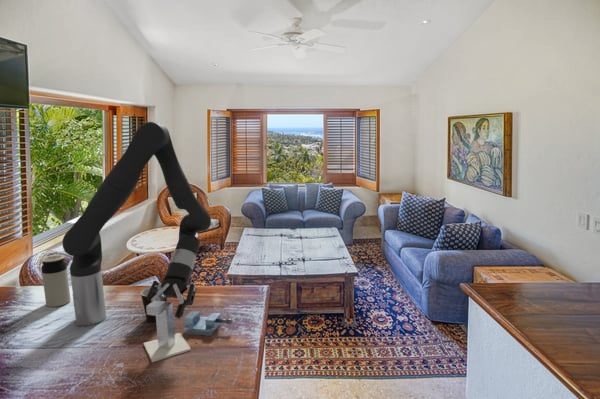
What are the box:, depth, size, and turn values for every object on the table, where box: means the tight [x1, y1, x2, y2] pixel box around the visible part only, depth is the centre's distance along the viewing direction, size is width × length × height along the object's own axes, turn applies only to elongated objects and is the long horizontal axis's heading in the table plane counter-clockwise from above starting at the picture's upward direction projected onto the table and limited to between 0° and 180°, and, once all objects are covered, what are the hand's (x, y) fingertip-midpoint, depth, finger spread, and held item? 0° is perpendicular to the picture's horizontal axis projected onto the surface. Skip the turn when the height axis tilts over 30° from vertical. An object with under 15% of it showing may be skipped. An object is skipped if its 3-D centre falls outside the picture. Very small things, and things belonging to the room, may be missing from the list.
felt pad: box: [143, 332, 192, 363], centre depth 118 cm, size 11×11×1 cm
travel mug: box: [40, 254, 72, 308], centre depth 148 cm, size 8×8×18 cm
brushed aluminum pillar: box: [146, 300, 176, 349], centre depth 115 cm, size 8×4×15 cm, turn 167°
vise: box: [183, 310, 233, 337], centre depth 129 cm, size 8×15×4 cm, turn 78°
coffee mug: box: [140, 286, 168, 324], centre depth 137 cm, size 12×9×10 cm
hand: (164, 316), depth 117 cm, fingers open, 8 cm apart
